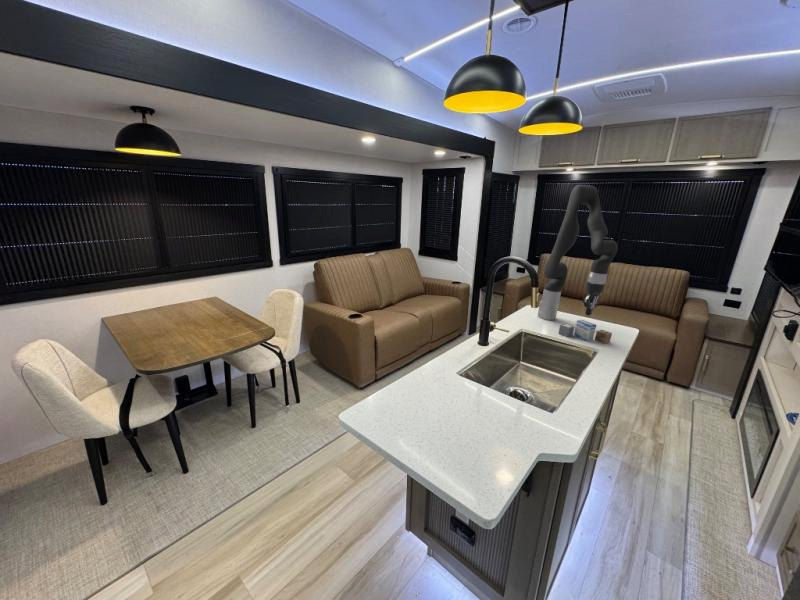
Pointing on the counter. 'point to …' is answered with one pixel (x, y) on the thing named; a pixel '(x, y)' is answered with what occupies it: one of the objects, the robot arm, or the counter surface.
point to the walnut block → (603, 336)
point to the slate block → (566, 330)
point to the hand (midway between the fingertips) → (587, 314)
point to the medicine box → (584, 330)
